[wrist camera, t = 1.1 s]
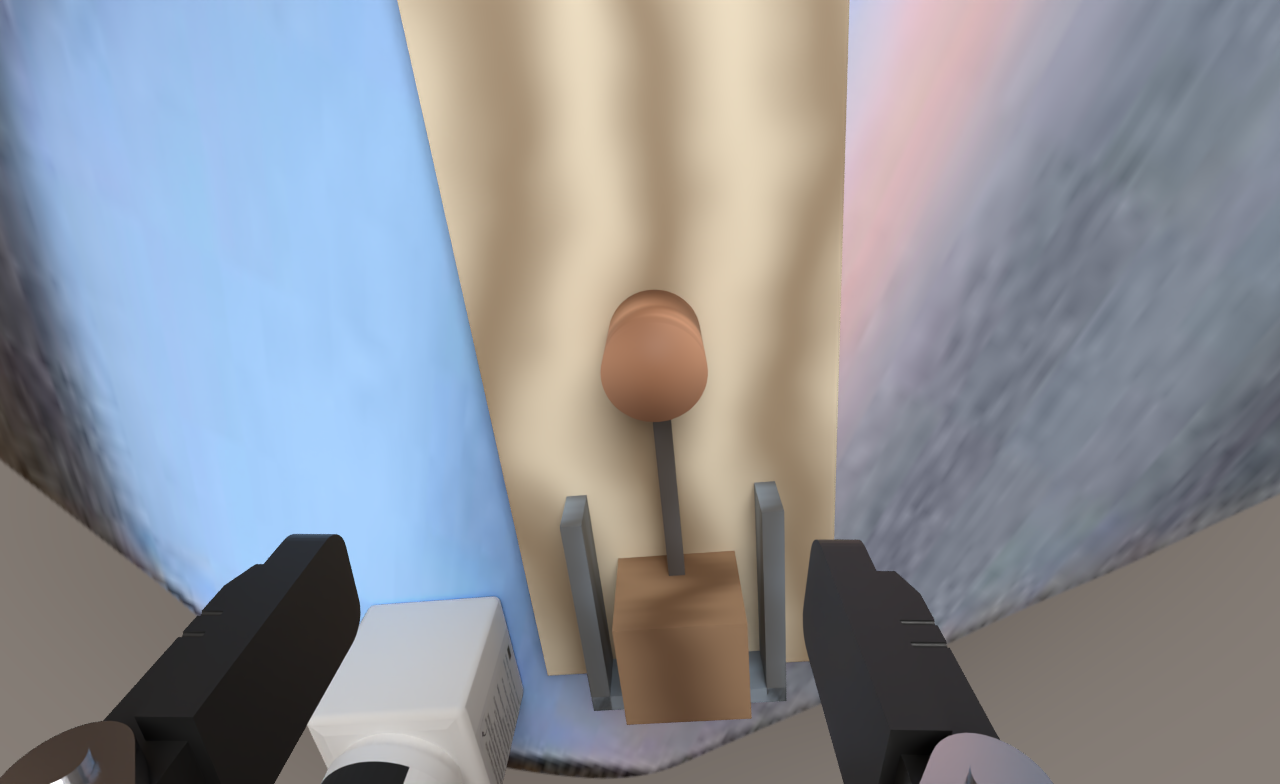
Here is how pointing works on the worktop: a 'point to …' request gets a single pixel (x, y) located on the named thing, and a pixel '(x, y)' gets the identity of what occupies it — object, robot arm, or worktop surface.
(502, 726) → the container
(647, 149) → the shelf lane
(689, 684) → the wooden joystick
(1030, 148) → the worktop surface
